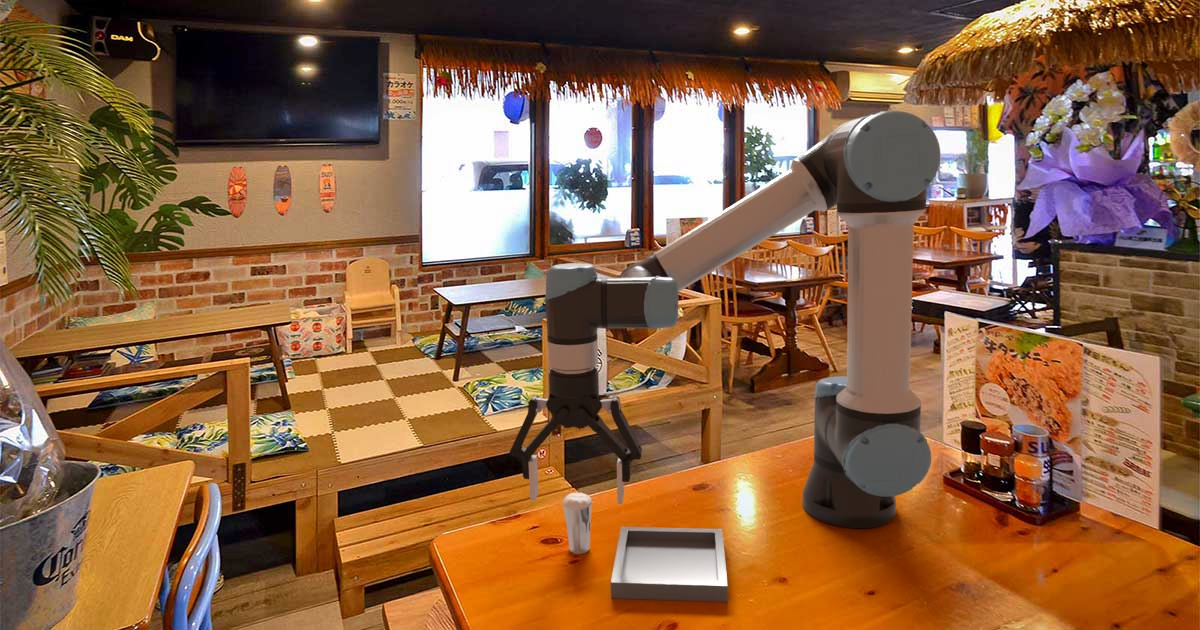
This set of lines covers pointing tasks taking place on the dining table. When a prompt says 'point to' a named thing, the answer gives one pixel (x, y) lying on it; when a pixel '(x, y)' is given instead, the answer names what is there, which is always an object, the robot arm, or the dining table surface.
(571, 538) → the milkshake
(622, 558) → the slate tray
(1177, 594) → the dining table surface
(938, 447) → the dining table surface
